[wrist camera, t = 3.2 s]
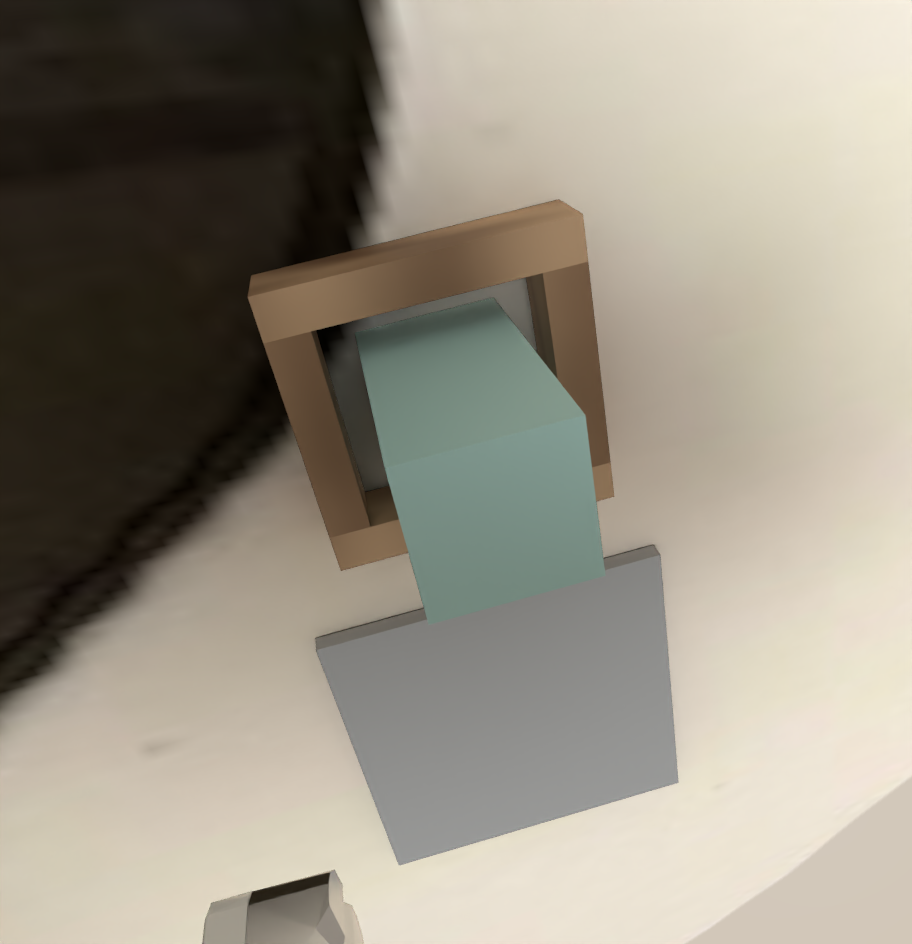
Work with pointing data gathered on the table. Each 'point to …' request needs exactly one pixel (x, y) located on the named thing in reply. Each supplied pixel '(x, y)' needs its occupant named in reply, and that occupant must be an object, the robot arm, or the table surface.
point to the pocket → (407, 284)
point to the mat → (510, 708)
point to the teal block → (481, 459)
